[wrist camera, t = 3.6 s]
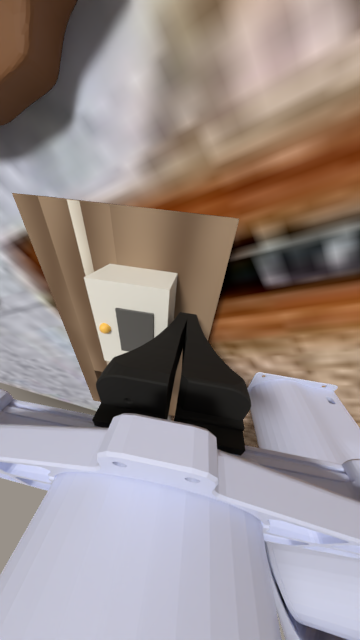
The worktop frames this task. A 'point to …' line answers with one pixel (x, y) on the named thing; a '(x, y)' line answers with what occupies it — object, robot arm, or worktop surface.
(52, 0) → the plant
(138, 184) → the worktop surface
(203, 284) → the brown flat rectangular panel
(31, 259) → the worktop surface
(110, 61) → the worktop surface
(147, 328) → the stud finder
